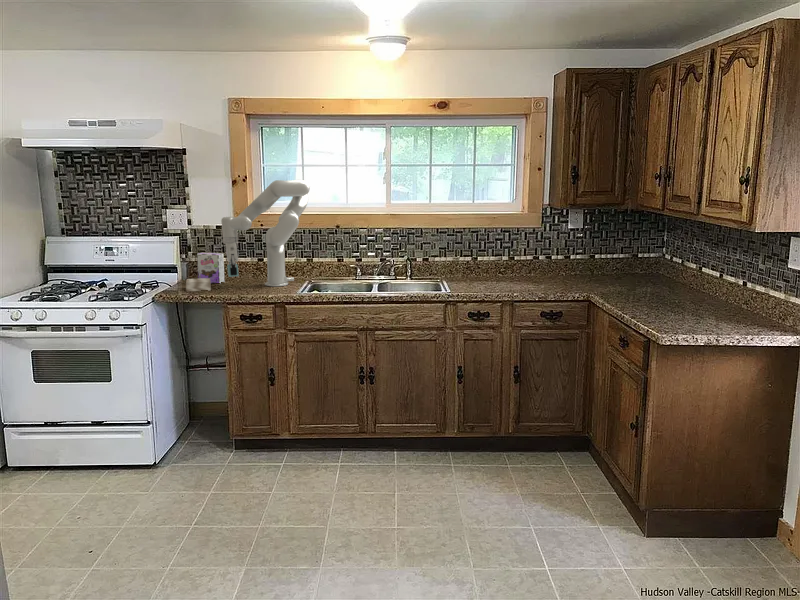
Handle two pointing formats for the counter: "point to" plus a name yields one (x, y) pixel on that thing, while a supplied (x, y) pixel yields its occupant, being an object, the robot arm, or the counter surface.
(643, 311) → the counter surface
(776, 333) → the counter surface
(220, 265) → the candy box
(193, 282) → the birch block
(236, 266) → the teal block
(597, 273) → the counter surface
